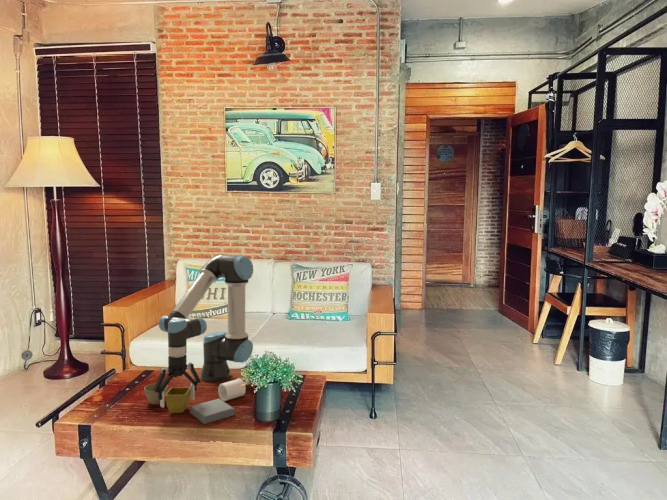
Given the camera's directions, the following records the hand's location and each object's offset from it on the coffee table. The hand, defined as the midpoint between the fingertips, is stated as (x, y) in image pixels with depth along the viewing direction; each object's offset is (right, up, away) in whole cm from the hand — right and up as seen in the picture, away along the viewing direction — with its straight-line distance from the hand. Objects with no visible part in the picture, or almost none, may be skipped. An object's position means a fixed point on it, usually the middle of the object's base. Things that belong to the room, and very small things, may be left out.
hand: (177, 402), depth 209 cm
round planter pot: (-13, -3, +9) cm, 16 cm away
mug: (+19, -3, +17) cm, 26 cm away
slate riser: (+15, -4, -2) cm, 16 cm away
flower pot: (0, -4, +1) cm, 4 cm away
